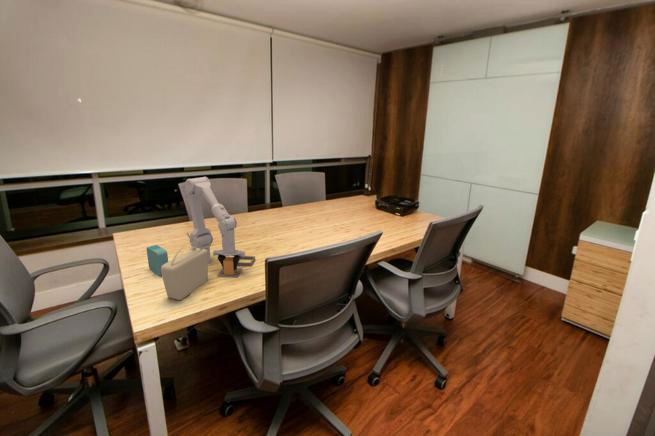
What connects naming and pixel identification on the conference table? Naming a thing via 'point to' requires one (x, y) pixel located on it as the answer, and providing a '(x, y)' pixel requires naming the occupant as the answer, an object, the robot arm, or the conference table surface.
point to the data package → (156, 258)
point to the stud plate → (230, 275)
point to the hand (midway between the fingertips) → (230, 269)
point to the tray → (246, 259)
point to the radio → (185, 272)
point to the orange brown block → (228, 266)
